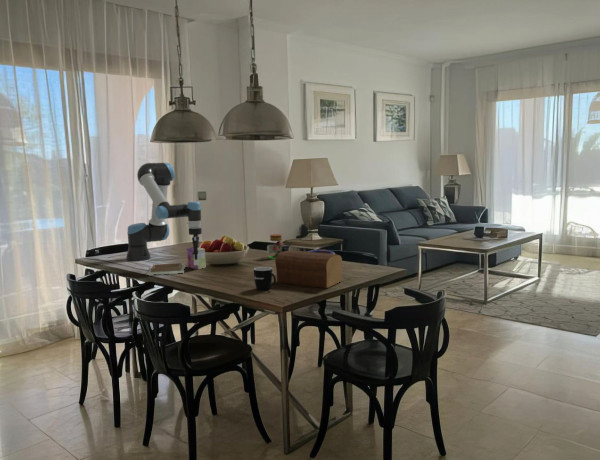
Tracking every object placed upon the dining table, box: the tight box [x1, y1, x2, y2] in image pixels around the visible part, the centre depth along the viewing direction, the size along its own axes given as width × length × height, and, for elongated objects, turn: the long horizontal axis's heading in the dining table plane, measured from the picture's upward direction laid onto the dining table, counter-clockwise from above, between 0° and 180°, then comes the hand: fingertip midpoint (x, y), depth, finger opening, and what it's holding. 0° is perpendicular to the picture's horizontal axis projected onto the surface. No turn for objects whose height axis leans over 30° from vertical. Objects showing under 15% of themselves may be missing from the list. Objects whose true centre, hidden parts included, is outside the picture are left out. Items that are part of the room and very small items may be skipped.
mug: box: [253, 266, 277, 291], centre depth 254 cm, size 12×9×10 cm
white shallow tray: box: [146, 262, 186, 276], centre depth 303 cm, size 22×20×3 cm
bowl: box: [307, 249, 336, 254], centre depth 301 cm, size 18×18×10 cm
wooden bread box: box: [274, 250, 343, 289], centre depth 266 cm, size 18×30×16 cm, turn 59°
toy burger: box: [266, 233, 285, 260], centre depth 339 cm, size 12×13×15 cm
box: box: [186, 247, 207, 270], centre depth 310 cm, size 10×6×12 cm, turn 47°
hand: (196, 263), depth 311 cm, fingers open, 13 cm apart
